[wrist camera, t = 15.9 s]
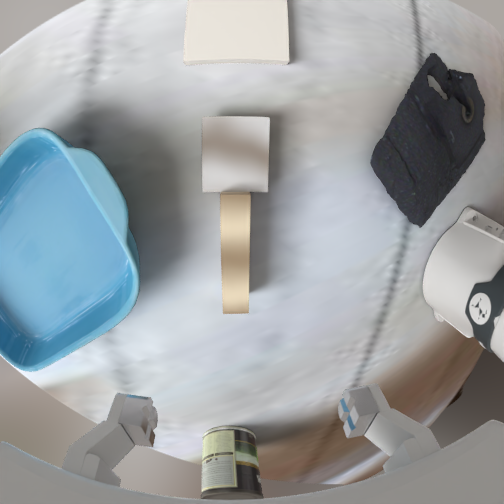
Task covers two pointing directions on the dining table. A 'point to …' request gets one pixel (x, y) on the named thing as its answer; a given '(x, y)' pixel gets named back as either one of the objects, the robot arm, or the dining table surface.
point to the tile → (236, 32)
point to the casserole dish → (60, 250)
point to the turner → (235, 193)
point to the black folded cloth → (430, 140)
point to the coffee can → (230, 465)
